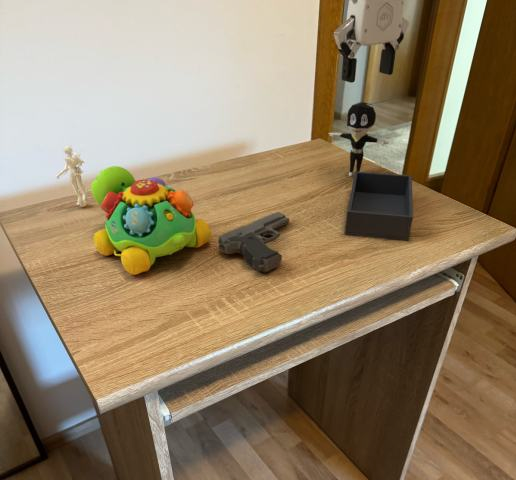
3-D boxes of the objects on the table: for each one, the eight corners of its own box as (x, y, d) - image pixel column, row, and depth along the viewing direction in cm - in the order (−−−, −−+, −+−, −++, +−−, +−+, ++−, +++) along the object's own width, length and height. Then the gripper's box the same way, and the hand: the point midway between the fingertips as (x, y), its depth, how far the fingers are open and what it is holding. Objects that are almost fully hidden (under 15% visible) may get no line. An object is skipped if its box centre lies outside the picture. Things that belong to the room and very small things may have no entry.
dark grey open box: (407, 196, 99) (411, 175, 96) (408, 240, 86) (413, 217, 83) (352, 192, 101) (354, 171, 98) (344, 234, 88) (347, 211, 85)
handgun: (327, 229, 85) (276, 206, 91) (263, 260, 75) (211, 233, 82) (325, 245, 87) (275, 222, 93) (262, 278, 77) (211, 250, 84)
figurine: (61, 205, 98) (43, 145, 90) (90, 198, 101) (75, 138, 93) (69, 215, 95) (51, 153, 87) (99, 207, 97) (84, 146, 89)
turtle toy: (148, 207, 97) (137, 147, 89) (225, 249, 85) (220, 183, 77) (70, 237, 88) (51, 174, 81) (143, 289, 76) (129, 219, 68)
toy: (320, 175, 108) (325, 102, 98) (330, 165, 112) (336, 94, 102) (379, 186, 103) (391, 110, 94) (387, 175, 108) (399, 102, 98)
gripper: (355, -30, 78) (345, 88, 89) (431, -37, 84) (413, 74, 96) (325, -32, 83) (320, 80, 94) (400, -38, 89) (386, 67, 100)
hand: (367, 77), depth 95 cm, fingers open, 9 cm apart
